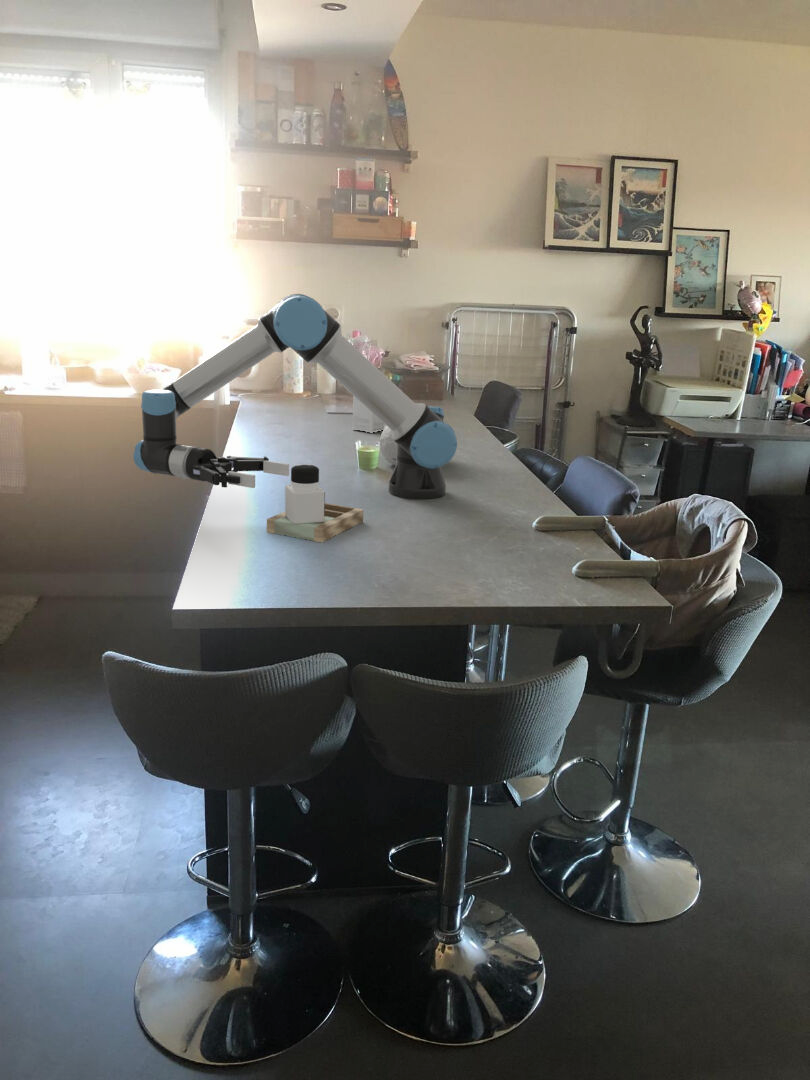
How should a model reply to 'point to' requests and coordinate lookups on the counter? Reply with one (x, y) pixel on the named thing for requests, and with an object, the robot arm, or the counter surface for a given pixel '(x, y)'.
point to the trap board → (317, 524)
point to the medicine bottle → (304, 496)
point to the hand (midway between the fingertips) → (271, 475)
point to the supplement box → (365, 417)
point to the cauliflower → (388, 446)
